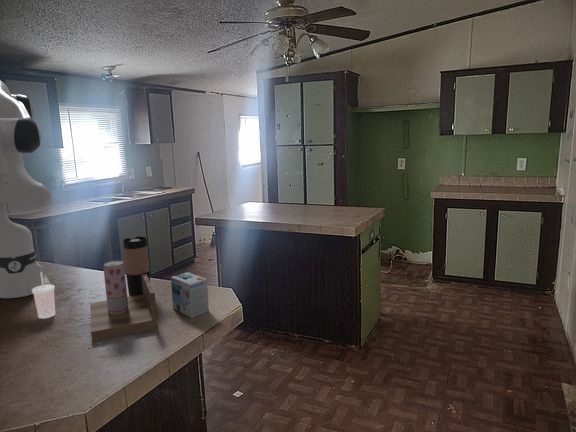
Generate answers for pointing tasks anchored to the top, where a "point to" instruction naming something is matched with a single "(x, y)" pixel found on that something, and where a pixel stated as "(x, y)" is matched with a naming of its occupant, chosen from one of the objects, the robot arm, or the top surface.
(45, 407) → the top surface
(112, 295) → the beverage can
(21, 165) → the robot arm
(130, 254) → the travel mug
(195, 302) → the light bulb box
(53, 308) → the beverage cup
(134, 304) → the walnut shelf stand
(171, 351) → the top surface
